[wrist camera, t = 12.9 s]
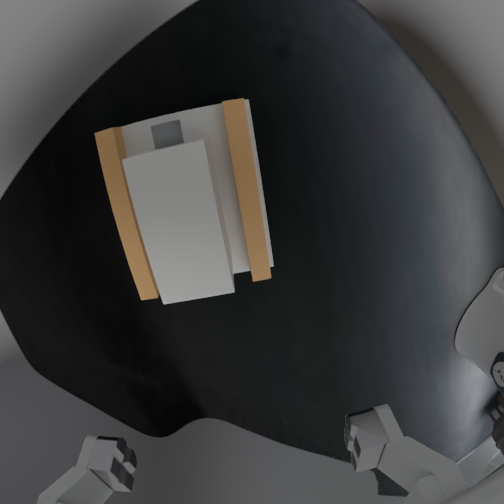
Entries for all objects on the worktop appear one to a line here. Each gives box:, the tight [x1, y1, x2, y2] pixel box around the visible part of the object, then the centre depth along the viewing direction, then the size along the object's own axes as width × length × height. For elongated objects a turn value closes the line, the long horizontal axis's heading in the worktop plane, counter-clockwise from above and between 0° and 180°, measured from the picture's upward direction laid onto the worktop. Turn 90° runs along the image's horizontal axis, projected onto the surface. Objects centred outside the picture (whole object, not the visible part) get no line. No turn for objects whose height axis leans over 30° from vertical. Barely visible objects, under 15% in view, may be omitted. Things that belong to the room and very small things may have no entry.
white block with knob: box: [122, 120, 235, 304], centre depth 21 cm, size 12×5×6 cm, turn 9°
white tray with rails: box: [95, 98, 274, 300], centre depth 25 cm, size 12×14×6 cm
